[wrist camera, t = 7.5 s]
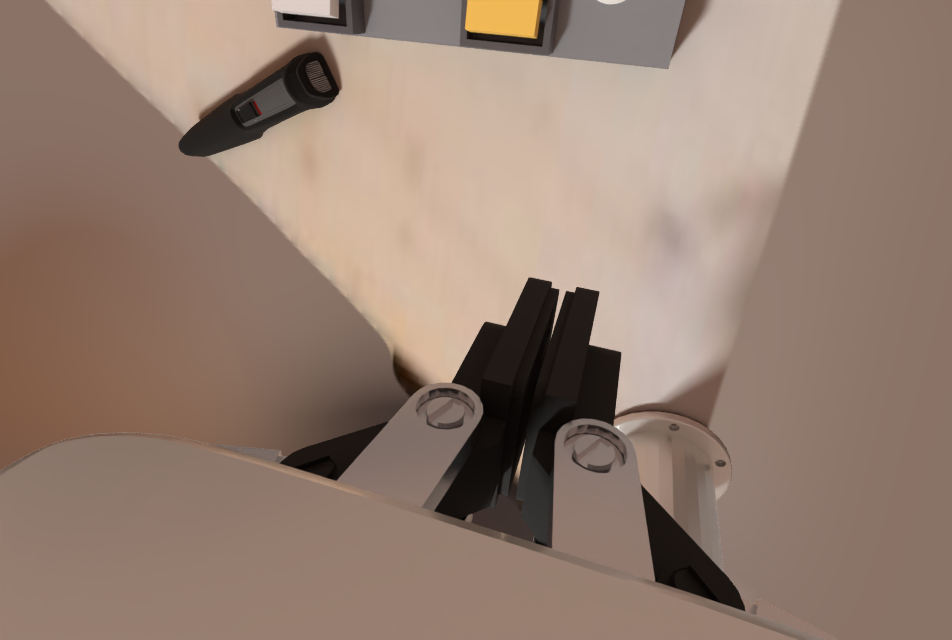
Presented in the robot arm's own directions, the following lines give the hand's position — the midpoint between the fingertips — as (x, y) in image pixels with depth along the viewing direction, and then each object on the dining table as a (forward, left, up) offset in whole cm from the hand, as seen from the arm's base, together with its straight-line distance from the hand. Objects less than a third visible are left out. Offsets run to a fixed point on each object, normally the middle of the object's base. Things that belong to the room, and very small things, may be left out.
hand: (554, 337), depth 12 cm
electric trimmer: (-3, +28, -28) cm, 40 cm away
